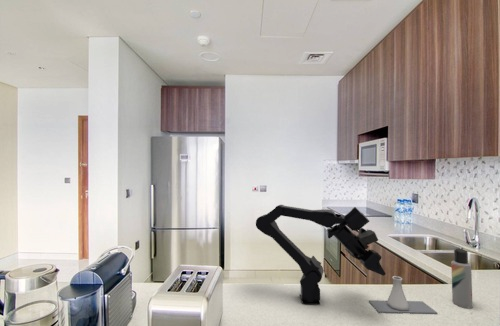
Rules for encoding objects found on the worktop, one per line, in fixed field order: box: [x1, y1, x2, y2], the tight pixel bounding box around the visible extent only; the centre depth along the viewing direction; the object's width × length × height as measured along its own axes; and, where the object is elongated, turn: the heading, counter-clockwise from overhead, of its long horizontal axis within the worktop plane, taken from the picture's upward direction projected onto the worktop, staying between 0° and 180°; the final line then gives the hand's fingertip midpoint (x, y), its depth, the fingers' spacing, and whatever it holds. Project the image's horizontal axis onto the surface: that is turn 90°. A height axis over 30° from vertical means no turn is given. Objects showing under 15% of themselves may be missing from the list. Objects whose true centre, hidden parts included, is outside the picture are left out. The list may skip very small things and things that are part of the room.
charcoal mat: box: [368, 299, 438, 315], centre depth 91 cm, size 20×8×1 cm, turn 89°
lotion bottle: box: [450, 248, 473, 309], centre depth 94 cm, size 6×6×20 cm
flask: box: [386, 275, 409, 311], centre depth 91 cm, size 7×7×10 cm
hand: (378, 269), depth 92 cm, fingers open, 9 cm apart
